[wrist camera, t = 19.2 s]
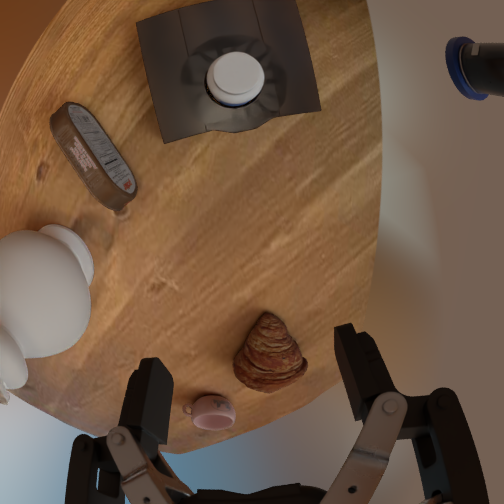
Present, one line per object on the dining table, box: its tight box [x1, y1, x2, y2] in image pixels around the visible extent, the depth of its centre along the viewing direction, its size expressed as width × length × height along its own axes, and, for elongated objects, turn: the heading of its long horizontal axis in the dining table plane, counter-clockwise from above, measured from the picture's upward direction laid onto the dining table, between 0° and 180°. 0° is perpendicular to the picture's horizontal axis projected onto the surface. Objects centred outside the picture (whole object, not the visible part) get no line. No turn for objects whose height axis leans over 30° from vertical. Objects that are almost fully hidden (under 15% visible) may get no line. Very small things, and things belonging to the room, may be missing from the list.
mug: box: [182, 395, 235, 430], centre depth 53 cm, size 12×10×6 cm
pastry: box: [233, 313, 308, 393], centre depth 45 cm, size 17×15×8 cm
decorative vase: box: [0, 224, 94, 405], centre depth 24 cm, size 18×18×25 cm
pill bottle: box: [207, 52, 264, 107], centre depth 23 cm, size 6×5×10 cm
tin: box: [49, 102, 137, 211], centre depth 25 cm, size 15×3×8 cm, turn 30°
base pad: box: [136, 0, 321, 144], centre depth 25 cm, size 18×17×3 cm
